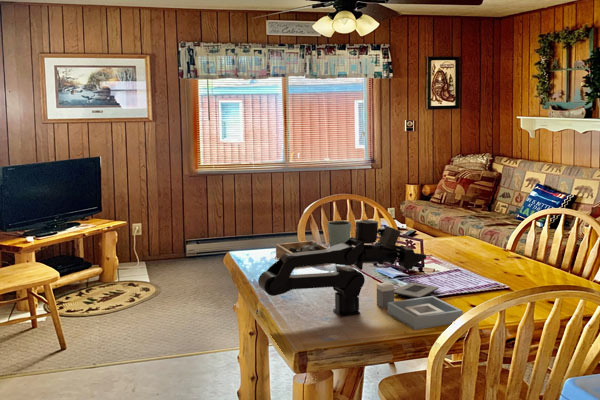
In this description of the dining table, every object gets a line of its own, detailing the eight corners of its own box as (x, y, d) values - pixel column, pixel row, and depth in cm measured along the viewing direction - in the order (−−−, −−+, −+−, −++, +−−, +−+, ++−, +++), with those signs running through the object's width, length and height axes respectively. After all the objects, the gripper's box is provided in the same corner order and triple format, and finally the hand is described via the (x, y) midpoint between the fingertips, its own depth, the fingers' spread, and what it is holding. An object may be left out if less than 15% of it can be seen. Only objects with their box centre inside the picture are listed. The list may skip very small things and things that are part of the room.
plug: (382, 308, 212) (382, 286, 211) (376, 305, 216) (376, 283, 214) (394, 306, 213) (394, 285, 212) (387, 303, 217) (387, 282, 216)
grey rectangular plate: (411, 288, 235) (411, 281, 234) (439, 293, 228) (439, 286, 228) (391, 297, 225) (391, 290, 224) (419, 303, 218) (419, 295, 218)
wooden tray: (291, 266, 266) (291, 253, 265) (276, 255, 284) (275, 244, 283) (331, 261, 272) (331, 249, 271) (313, 251, 290) (313, 240, 289)
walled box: (414, 329, 192) (414, 318, 192) (387, 313, 207) (387, 302, 206) (462, 322, 198) (462, 310, 197) (432, 306, 213) (432, 295, 212)
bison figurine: (322, 258, 280) (303, 253, 285) (323, 241, 278) (303, 237, 284) (306, 264, 270) (286, 260, 276) (306, 247, 269) (286, 243, 274)
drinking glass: (326, 252, 288) (326, 224, 286) (329, 247, 298) (329, 220, 296) (350, 252, 286) (350, 224, 285) (352, 247, 296) (352, 220, 294)
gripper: (391, 233, 200) (436, 233, 205) (363, 222, 217) (405, 223, 223) (388, 270, 201) (433, 269, 207) (360, 257, 218) (402, 256, 224)
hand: (418, 253), depth 215 cm, fingers open, 9 cm apart
